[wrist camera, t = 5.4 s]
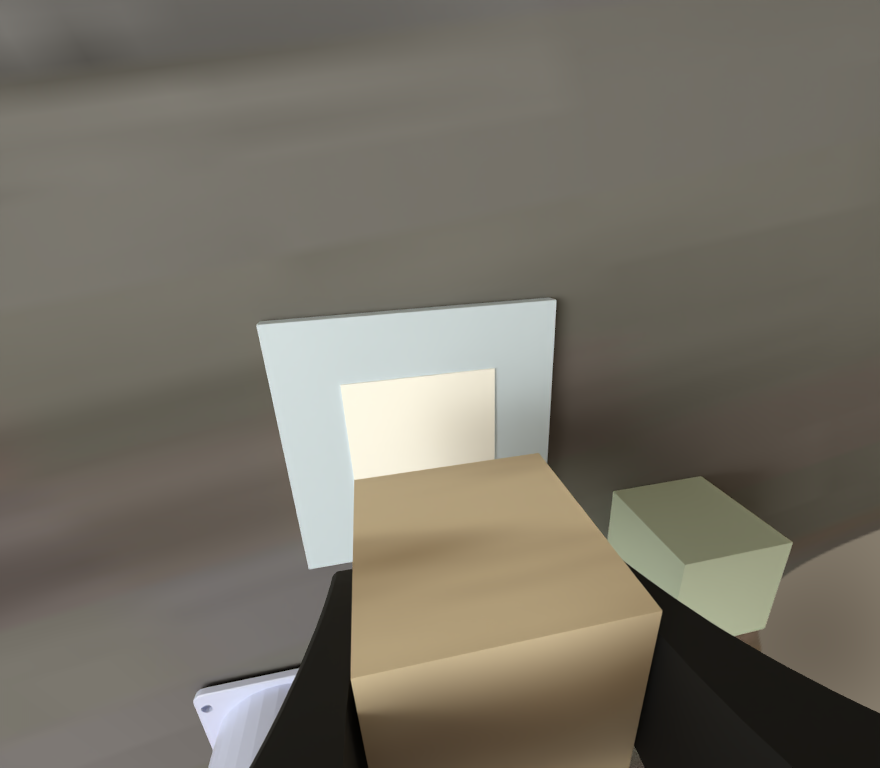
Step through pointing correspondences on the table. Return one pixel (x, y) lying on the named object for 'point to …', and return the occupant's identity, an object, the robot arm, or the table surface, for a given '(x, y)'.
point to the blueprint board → (403, 399)
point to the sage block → (701, 550)
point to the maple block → (493, 623)
